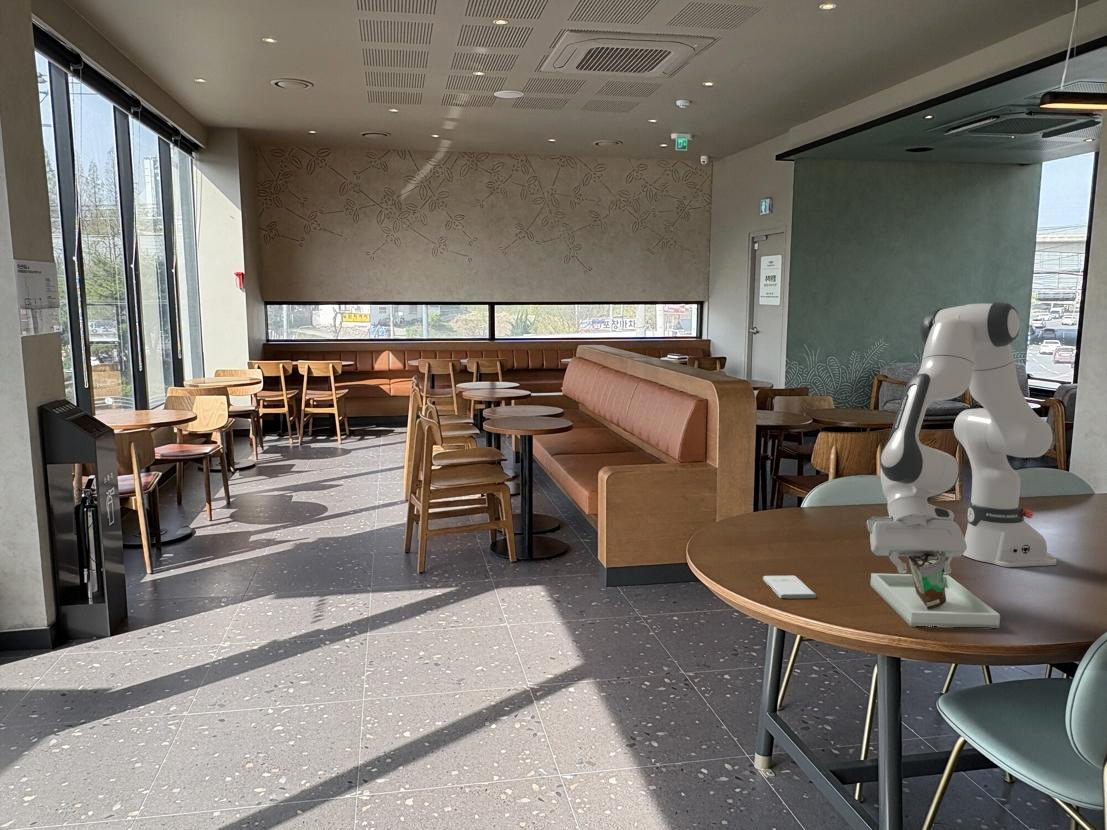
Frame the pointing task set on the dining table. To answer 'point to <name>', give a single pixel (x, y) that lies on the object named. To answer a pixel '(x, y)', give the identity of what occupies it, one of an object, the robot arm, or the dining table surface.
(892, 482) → the robot arm
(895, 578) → the tray
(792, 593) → the external hard drive
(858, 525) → the dining table surface
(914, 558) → the food container
